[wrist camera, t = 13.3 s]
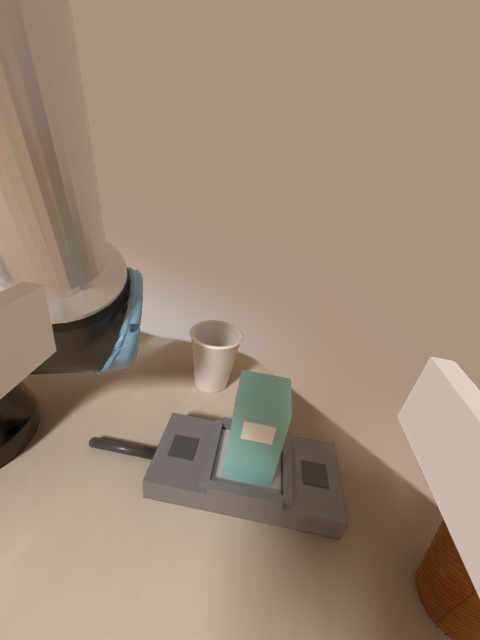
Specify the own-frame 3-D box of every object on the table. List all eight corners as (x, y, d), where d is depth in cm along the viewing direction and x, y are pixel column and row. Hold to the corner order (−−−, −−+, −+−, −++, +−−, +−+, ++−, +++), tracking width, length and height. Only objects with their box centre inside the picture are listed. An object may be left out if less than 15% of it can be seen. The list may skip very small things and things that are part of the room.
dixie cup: (210, 361, 57) (215, 315, 53) (244, 383, 53) (253, 335, 48) (176, 380, 51) (178, 329, 47) (211, 406, 47) (217, 354, 42)
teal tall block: (221, 478, 33) (234, 405, 28) (229, 437, 38) (241, 369, 33) (270, 488, 33) (292, 416, 28) (271, 446, 38) (290, 378, 33)
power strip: (65, 480, 34) (60, 457, 32) (109, 415, 43) (107, 394, 41) (339, 538, 33) (351, 518, 31) (327, 459, 41) (335, 439, 39)
